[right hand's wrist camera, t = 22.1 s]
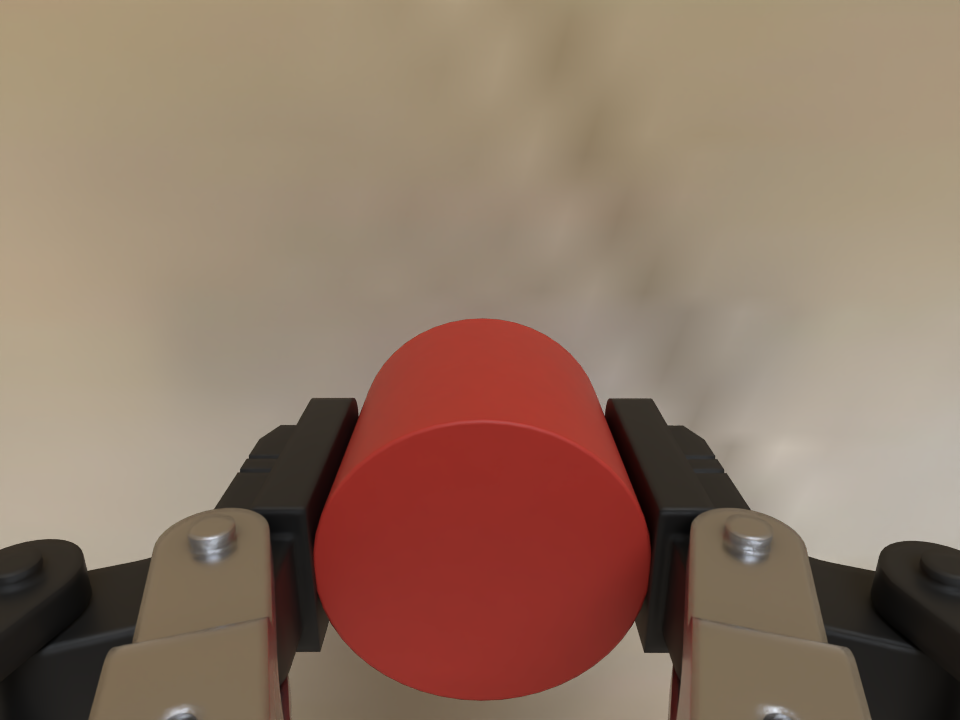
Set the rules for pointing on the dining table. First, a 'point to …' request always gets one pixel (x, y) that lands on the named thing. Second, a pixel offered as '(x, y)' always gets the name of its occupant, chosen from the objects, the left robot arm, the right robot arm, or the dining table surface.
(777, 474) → the dining table surface
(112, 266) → the dining table surface
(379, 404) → the canister
